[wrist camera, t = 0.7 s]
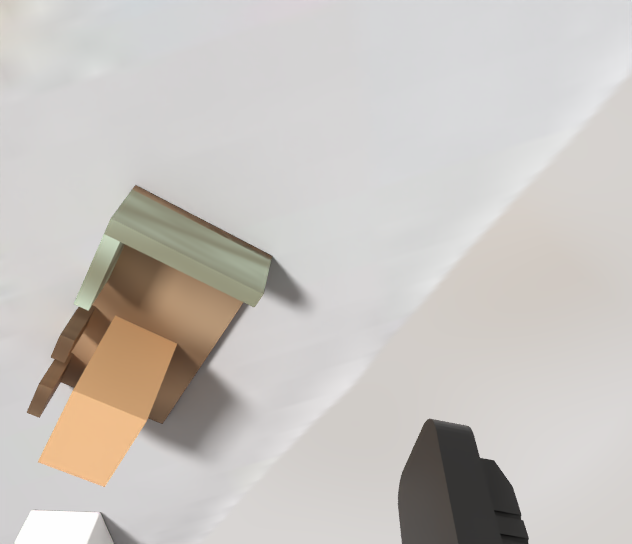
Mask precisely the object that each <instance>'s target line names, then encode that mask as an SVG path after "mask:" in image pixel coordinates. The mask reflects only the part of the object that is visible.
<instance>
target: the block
mask: <svg viewBox="0 0 632 544" xmlns="http://www.w3.org/2000/svg"><path fill="white" fill-rule="evenodd" d="M176 345H177V343H174V342H172V341H170V340H168V339H166V338H163V337H161V336H159V335H157V334H155V333H152V332H150V331H148V330H146V329H144V328H141V327H139V326H137V325H135V324H133V323H130V322H128V321H126V320H124V319H122V318H119V317H117V316H115V317H114V319H113V320H112V322H111V324H110V326H109V327H108V329H107V331H106V333H105V335H104V336H103V338H102V340H101V342H100V343H99V345H98V347H97V349H96V351H95V352H94V354H93V356H92V358H91V359H90V361H89V363H88V365H87V367H86V368H85V370H84V372H83V374H82V375H81V377H80V379H79V381H78V382H77V384H76V386H75V388H74V390H73V391H72V394H71V396H70V398H69V400H68V402H67V404H66V406H65V408H64V410H63V412H62V414H61V416H60V418H59V420H58V422H57V424H56V426H55V428H54V430H53V432H52V434H51V436H50V438H49V440H48V442H47V444H46V446H45V448H44V450H43V453H42V455H41V457H40V459H39V461H38V462H39V463H42V464H45V465H47V466H50V467H53V468H55V469H58V470H61V471H63V472H66V473H69V474H71V475H74V476H77V477H79V478H82V479H85V480H87V481H90V482H93V483H96V484H98V485H101V486H104V487H105V486H106V484H107V482H108V481H109V479H110V478H111V476H112V475H113V473H114V472H115V470H116V468H117V467H118V465H119V464H120V462H121V461H122V459H123V457H124V456H125V454H126V453H127V451H128V450H129V448H130V446H131V445H132V443H133V442H134V440H135V439H136V437H137V436H138V434H139V432H140V431H141V429H142V428H143V426H144V425H145V423H146V421H147V419H148V417H149V414H150V412H151V409H152V407H153V404H154V401H155V399H156V396H157V394H158V391H159V389H160V386H161V384H162V381H163V379H164V376H165V373H166V371H167V368H168V366H169V363H170V361H171V358H172V356H173V353H174V351H175V348H176Z"/></svg>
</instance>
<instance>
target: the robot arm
mask: <svg viewBox="0 0 632 544" xmlns="http://www.w3.org/2000/svg"><path fill="white" fill-rule="evenodd" d="M398 509H399V519H400V528H401V538H402V544H528V539H529V538H528V534H527V531H526V528H525V525H524V522H523V520H521V512H520V509H519V506H518V502H517V499H516V496H515V493H514V490H513V487H512V485H511V484H510V482H509V481H508V480H507V478H506V477H505V475H504V474H503V472H502V471H501V470H500V468H499V467H498V465H497V464H496V463H495V461H494V460H488V459H483V458H480V457H479V453H478V450H477V445H476V442H475V438H474V435H473V432H472V430H471V428H470V427H469V426H465V425H460V424H455V423H449V422H444V421H439V420H433V419H428V420H427V421H426V422H425V423H424V425H423V427H422V430H421V432H420V434H419V436H418V439H417V441H416V443H415V445H414V447H413V450H412V452H411V454H410V456H409V459H408V461H407V463H406V465H405V467H404V470H403V472H402V475H401V479H400V485H399V492H398Z"/></svg>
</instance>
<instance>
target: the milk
mask: <svg viewBox="0 0 632 544" xmlns="http://www.w3.org/2000/svg"><path fill="white" fill-rule="evenodd" d="M14 544H114V543H113V540H112V538H111V536H110V534H109V531H108V529H107V527H106V525H105V522H104V520H103V518H102V515H101V513H100V512H79V511H49V510H32V511H31V512H30V514H29V516H28V518H27V519H26V521H25V523H24V525H23V527H22V529H21V531H20V533H19V535H18V537H17V539H16V541H15V542H14Z"/></svg>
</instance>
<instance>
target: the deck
mask: <svg viewBox="0 0 632 544" xmlns="http://www.w3.org/2000/svg"><path fill="white" fill-rule="evenodd" d="M271 259H272V256H271V255H269V254H267V253H265V252H263V251H261V250H259V249H258V248H256V247H254V246H252V245H250V244H248V243H246V242H244V241H242V240H240V239H238V238H236V237H234V236H233V235H231V234H229V233H227V232H225V231H223V230H221V229H219V228H217V227H215V226H213V225H211V224H209V223H208V222H206V221H204V220H202V219H200V218H198V217H196V216H194V215H192V214H190V213H188V212H186V211H184V210H183V209H181V208H179V207H177V206H175V205H173V204H171V203H169V202H167V201H165V200H163V199H161V198H159V197H158V196H156V195H154V194H152V193H150V192H148V191H146V190H144V189H142V188H140V187H138V186H136V185H135V186H134V188H133V189H132V190H131V192H130V193H129V195H128V196H127V197H126V199H125V200H124V201H123V203H122V204H121V205H120V207H119V208H118V209H117V211H116V212H115V213H114V215H113V216H112V217H111V219H110V222H109V224H108V226H107V228H106V231H105V233H104V235H103V238H102V240H101V242H100V245H99V247H98V249H97V251H96V254H95V256H94V258H93V261H92V263H91V265H90V268H89V270H88V272H87V275H86V277H85V279H84V281H83V284H82V286H81V288H80V291H79V293H78V295H77V298H76V300H75V302H74V304H75V305H77V306H79V307H78V309H77V310H76V312H75V313H74V315H73V316H72V318H71V319H70V321H69V322H68V324H67V325H66V327H65V328H64V330H63V332H62V333H61V335H60V337H59V339H58V341H57V344H56V346H55V348H54V351H53V353H52V355H51V358H53V359H55V360H54V361H53V363H52V364H51V366H50V367H49V369H48V371H47V372H46V374H45V375H44V377H43V378H42V380H41V382H40V383H39V385H38V387H37V390H36V392H35V394H34V397H33V399H32V401H31V404H30V406H29V408H28V411H27V413H29V414H31V415H34V416H37V417H39V418H40V416H41V414H42V413H43V411H44V409H45V408H46V406H47V404H48V403H49V401H50V399H51V398H52V396H53V394H54V393H55V391H56V389H57V387H58V386H59V384H60V382H62V383H64V384H67V385H69V386H72V387H74V388H75V386H76V384H77V382H78V381H79V379H80V377H81V375H82V374H83V372H84V370H85V368H86V367H87V365H88V363H89V361H90V359H91V358H92V356H93V354H94V352H95V351H96V349H97V347H98V345H99V343H100V342H101V340H102V338H103V336H104V335H105V333H106V331H107V329H108V327H109V326H110V324H111V322H112V320H113V319H114V317H115V316H117V317H119V318H122V319H124V320H126V321H128V322H130V323H133V324H135V325H137V326H139V327H141V328H144V329H146V330H148V331H150V332H152V333H155V334H157V335H159V336H161V337H163V338H166V339H168V340H170V341H172V342H174V343H177V345H176V348H175V351H174V353H173V356H172V358H171V361H170V363H169V366H168V368H167V371H166V373H165V376H164V379H163V381H162V384H161V386H160V389H159V391H158V394H157V396H156V399H155V401H154V404H153V407H152V409H151V412H150V414H149V417H148V418H149V419H152V420H154V421H156V422H159V423H161V424H163V422H164V421H165V419H166V418H167V416H168V415H169V413H170V412H171V410H172V409H173V407H174V406H175V404H176V403H177V401H178V400H179V398H180V397H181V395H182V394H183V392H184V391H185V389H186V388H187V386H188V385H189V383H190V382H191V380H192V379H193V377H194V376H195V374H196V373H197V371H198V370H199V368H200V367H201V365H202V364H203V362H204V361H205V359H206V358H207V356H208V355H209V353H210V352H211V350H212V349H213V347H214V346H215V344H216V343H217V341H218V340H219V338H220V337H221V335H222V334H223V332H224V331H225V329H226V328H227V326H228V325H229V323H230V322H231V320H232V319H233V317H234V316H235V314H236V313H237V311H238V310H239V308H240V307H241V305H242V304H243V302H244V303H246V304H248V305H250V306H252V307H255V306H256V304H257V303H258V301H259V300H260V299H261V297H262V296H263V294H264V290H265V285H266V281H267V277H268V272H269V268H270V263H271Z"/></svg>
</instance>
